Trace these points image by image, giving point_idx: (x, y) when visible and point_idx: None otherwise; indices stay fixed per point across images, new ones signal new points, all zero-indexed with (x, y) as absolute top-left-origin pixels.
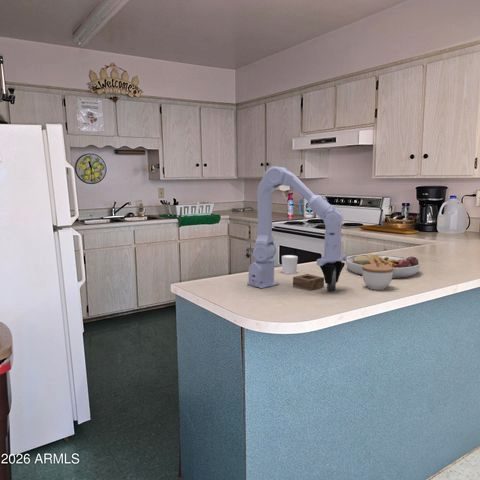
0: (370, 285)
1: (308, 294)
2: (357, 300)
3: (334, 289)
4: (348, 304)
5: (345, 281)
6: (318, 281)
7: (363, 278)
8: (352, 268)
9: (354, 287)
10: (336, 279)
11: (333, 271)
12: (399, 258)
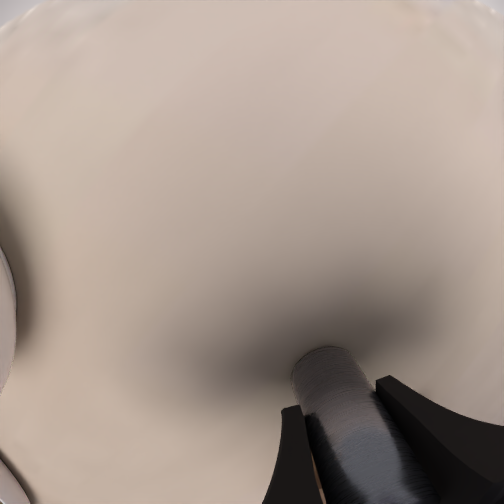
0: (5, 273)
1: (478, 333)
2: (337, 52)
3: (326, 351)
4: (439, 43)
5: (92, 459)
6: None
7: (7, 364)
8: (21, 497)
9: (96, 363)
10: (305, 427)
11: (412, 470)
12: None
